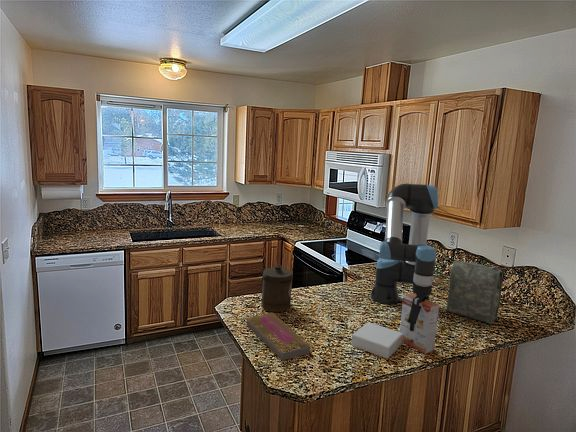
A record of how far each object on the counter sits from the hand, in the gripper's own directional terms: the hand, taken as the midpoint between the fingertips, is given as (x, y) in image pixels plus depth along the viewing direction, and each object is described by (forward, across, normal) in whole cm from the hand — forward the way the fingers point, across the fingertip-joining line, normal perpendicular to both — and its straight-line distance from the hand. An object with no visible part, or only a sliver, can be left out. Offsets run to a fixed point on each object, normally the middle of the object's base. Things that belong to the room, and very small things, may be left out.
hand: (417, 331), depth 165 cm
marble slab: (+7, -10, +13) cm, 18 cm away
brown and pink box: (+7, -34, +48) cm, 59 cm away
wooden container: (+7, -8, +69) cm, 70 cm away
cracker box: (+7, 0, 0) cm, 7 cm away
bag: (+7, +52, -11) cm, 54 cm away
